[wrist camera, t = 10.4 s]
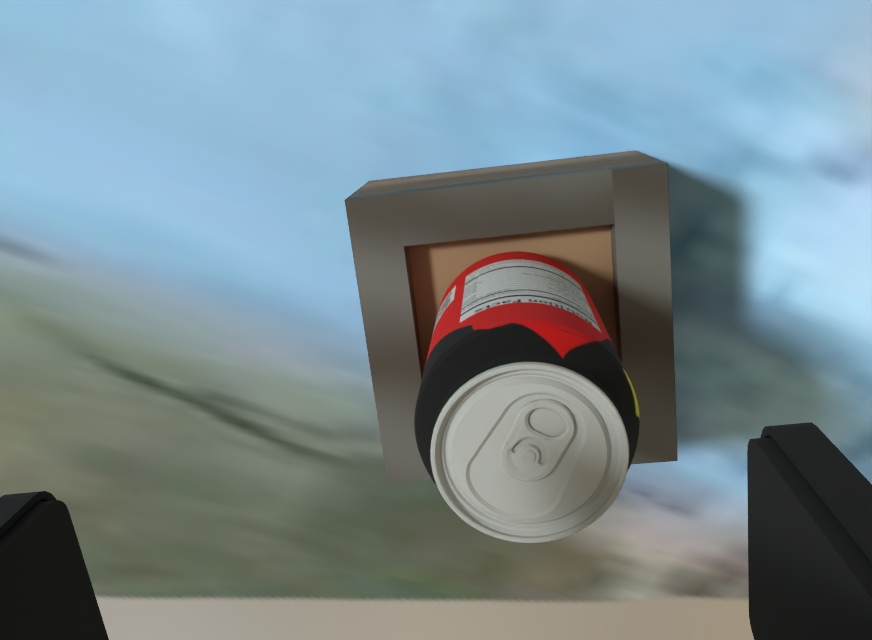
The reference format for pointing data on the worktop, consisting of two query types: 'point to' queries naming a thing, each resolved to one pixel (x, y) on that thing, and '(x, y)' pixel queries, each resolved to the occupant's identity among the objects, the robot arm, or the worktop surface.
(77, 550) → the robot arm
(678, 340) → the worktop surface
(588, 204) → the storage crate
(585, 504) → the beverage can
